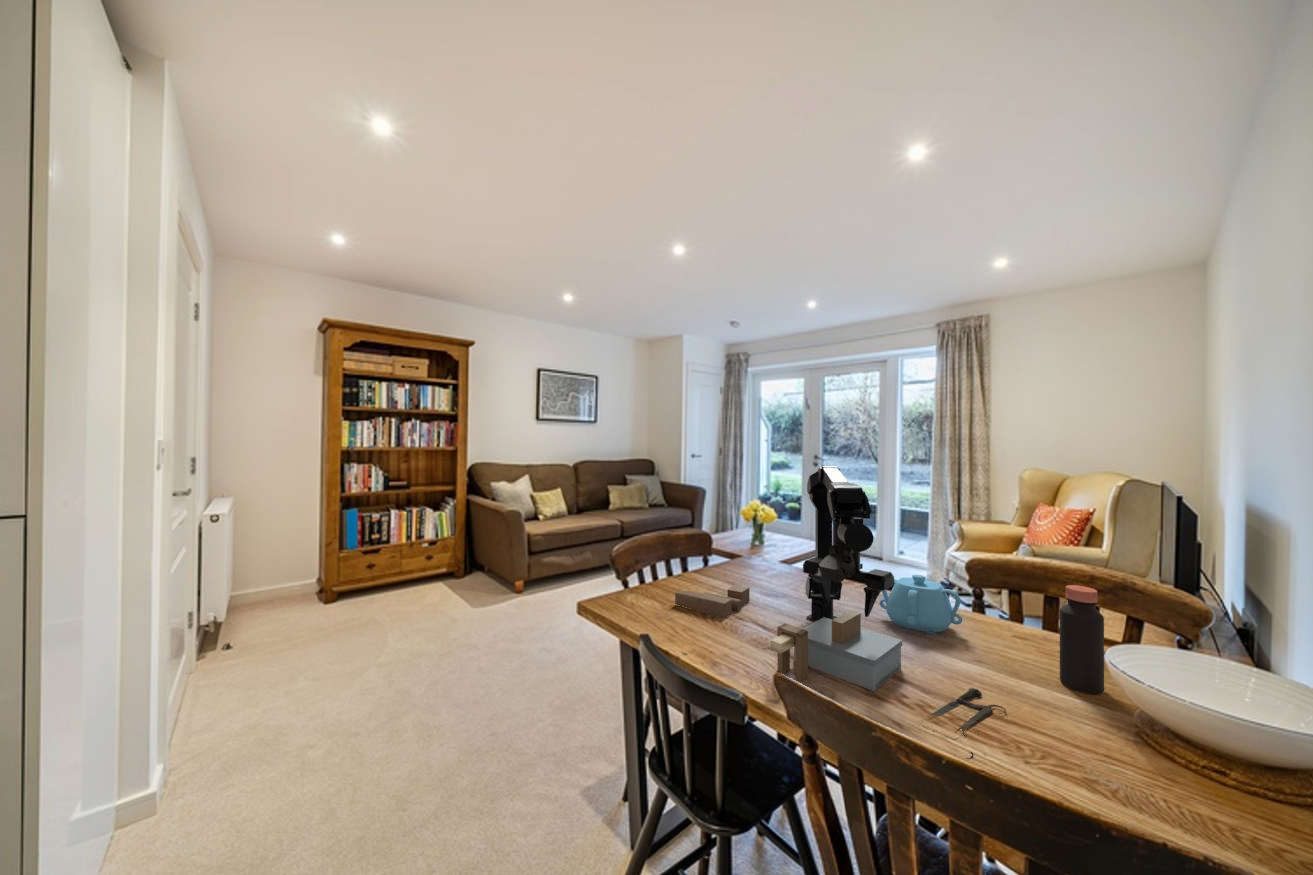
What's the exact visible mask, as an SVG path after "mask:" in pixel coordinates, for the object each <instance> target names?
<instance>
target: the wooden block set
mask: <svg viewBox="0 0 1313 875" xmlns="http://www.w3.org/2000/svg"><path fill="white" fill-rule="evenodd" d="M750 600H751V598H750V587H748V586H742V585H741V586H738V585H732V586H730V587H729V588H727V596H724V595H721V594H715V593H711V592H704V593H699V592H694V591H691V590H678V591H677V592H675V594H674V605H675V604H677V605H680V606H684V607H687V608H691V609H694V610H693V611H695V610H697V611H700V612H699V613H701V612H704V613H703V614H705V613H707V614H706V615H709V614H710V615H709V616H713V615H714V617H717V616H718V617H717V618H720V619H721V618H722V619H726V618H727V616H728V617H730V614H731V615H732V613H733V612H732V609H733V611H737V612H740V611H741V610H742V607H744V606H745V605H746V603H747V602H748V603H750V602H749V601H750ZM748 603H747V604H748ZM744 604H745V605H744ZM687 608H686V609H687ZM691 609H690V610H691ZM739 610H740V611H739ZM697 611H696V612H697Z"/></svg>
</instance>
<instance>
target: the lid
mask: <svg viewBox="0 0 1313 875" xmlns="http://www.w3.org/2000/svg"><path fill="white" fill-rule="evenodd" d="M861 616H862V614H861V612H858V611H854V610H848V611H847V612H844V613H842V614H841V615H839V616H836V617H837V618H835V619H833V620H832V619H828V618H825V617H824V618H822V619H820V620H818V621H814V622H812V623H810V624H808V625H806V626H804V627H802V628H801V629H804V630H807V631H808V644H810V645H813V646H816V647H819V648H821V649H824V650H827V651H830V652H833V653H836V654H839V655H842V656H844V657H847V658H850V659H853V660H856V661H859V662H862V663H865V664H868V665H870V666H873V667H875V666H876V665H878V664H879V663H880V662H882V661H883V660H884V659H885V658H887V657H888V656H889V655H891V654H892V653H893V652H895V651H896V650H897V649H899V648H900V647H901V648H902V646H903V640H902V639H899V638H896V637H893V636H889V635H886V634H884V633H883V634H882V633H879V632H875V631H872V630H868V629H865V628H862V626H861V625H862V623H861V622H862V621H861V620H862V617H861Z"/></svg>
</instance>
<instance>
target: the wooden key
mask: <svg viewBox="0 0 1313 875" xmlns="http://www.w3.org/2000/svg"><path fill="white" fill-rule="evenodd" d="M794 646H795V636H793V635H790V634H787V633H784V634H782V635H780V636H778V637H777V636H776V637H774V638H772V639H770V651H773V652H775V653H777V652H778V653H780V654H781V653H783V652H785V651H787V650H788V649H790V650H791V649H792V648H794Z"/></svg>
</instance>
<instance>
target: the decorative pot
mask: <svg viewBox="0 0 1313 875" xmlns="http://www.w3.org/2000/svg"><path fill="white" fill-rule="evenodd" d="M891 588H892V589H891V591H890V592H889V595H888V592H887V589H886V590H883V591H881V593H882V596H883V598H882V599H880V600H879V605H880V607H881V608H882V609H884V610H885V611H886V615H888V617H889V619H890V620H891V622H892V623H895V624H896V625H897V627H899V628H901V629H908V628H909V629H912V630H917V631H923V632H924V633H925V634H928V635H936V633H942V632H944V631H946V630H947V629H948V628H949V627H950V625H951V624H954V625H961V624H963V617H962V616H961V615H960V614H958V610H959V608H960V606H961V596H960V595H959V594H958V593H957V592H956V591H955V590H952V589H948V588H944V586H943V585H942V584H941V583H940V582H937V581H933V580H929V579H927V576H925V575H922V574H912V577H908V576H907V577H906V576H905V577H900V578H899V579H897V580H895V579H894V586H892V587H891ZM948 594H949V595H951V596H953V597H954V599H955V602H954V606H953V608H952V603H951V601H950V598H949V596H948ZM955 618H957V619H958V620H957V619H955Z"/></svg>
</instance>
